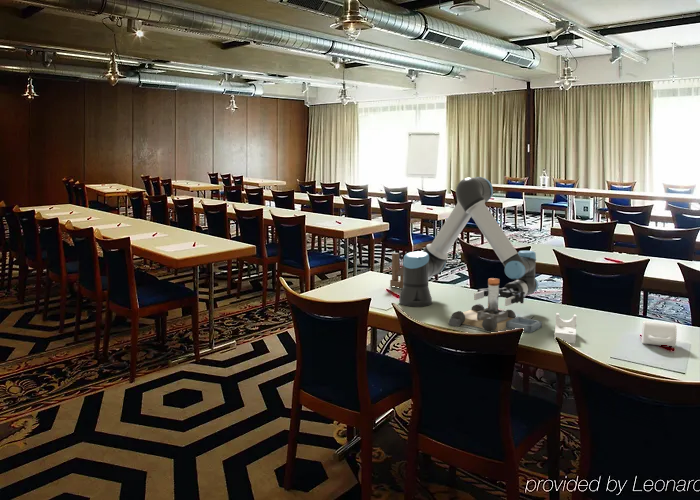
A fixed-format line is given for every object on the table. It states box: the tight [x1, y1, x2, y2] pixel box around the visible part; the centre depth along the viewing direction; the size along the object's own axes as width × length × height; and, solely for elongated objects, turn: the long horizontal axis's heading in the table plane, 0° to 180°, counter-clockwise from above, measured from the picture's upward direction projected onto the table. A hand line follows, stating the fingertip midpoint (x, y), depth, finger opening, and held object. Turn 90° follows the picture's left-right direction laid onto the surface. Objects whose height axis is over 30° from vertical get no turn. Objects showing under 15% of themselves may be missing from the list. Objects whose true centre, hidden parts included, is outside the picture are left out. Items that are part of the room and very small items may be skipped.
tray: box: [505, 316, 543, 334], centre depth 214 cm, size 10×10×2 cm
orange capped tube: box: [487, 277, 501, 314], centre depth 217 cm, size 4×4×16 cm
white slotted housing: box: [641, 320, 677, 348], centre depth 191 cm, size 12×10×8 cm
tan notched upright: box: [389, 252, 403, 289], centre depth 284 cm, size 4×11×18 cm, turn 41°
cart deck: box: [450, 303, 517, 332], centre depth 221 cm, size 20×18×6 cm
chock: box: [448, 317, 462, 327], centre depth 218 cm, size 4×2×2 cm, turn 47°
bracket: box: [554, 312, 577, 344], centre depth 202 cm, size 13×7×8 cm, turn 158°
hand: (490, 299), depth 215 cm, fingers open, 13 cm apart
